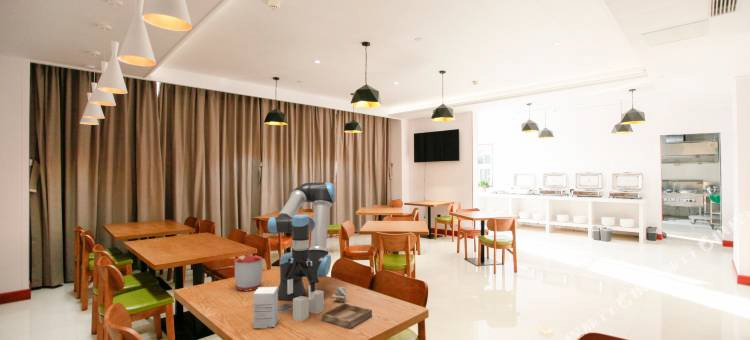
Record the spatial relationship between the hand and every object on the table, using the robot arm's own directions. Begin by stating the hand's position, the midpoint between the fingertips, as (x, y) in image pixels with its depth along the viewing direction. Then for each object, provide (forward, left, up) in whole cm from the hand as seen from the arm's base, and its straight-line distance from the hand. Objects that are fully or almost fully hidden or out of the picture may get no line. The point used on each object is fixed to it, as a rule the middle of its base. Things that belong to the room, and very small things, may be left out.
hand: (300, 296), depth 158 cm
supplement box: (-8, -13, -10) cm, 18 cm away
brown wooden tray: (+18, +11, -10) cm, 23 cm away
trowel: (-15, 0, -10) cm, 18 cm away
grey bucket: (-58, +14, -10) cm, 61 cm away
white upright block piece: (0, +10, -10) cm, 14 cm away
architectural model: (+1, +26, -11) cm, 29 cm away
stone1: (0, 0, -10) cm, 10 cm away
